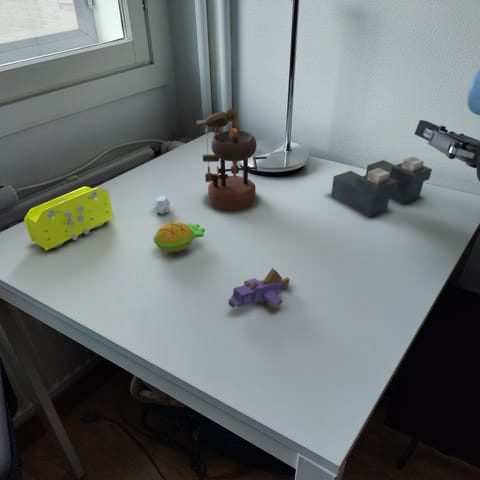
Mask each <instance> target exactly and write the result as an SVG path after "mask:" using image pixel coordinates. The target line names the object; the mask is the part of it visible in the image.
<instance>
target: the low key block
mask: <svg viewBox="0 0 480 480" xmlns="http://www.w3.org/2000/svg"><path fill="white" fill-rule="evenodd" d="M402 164H403V162H401V163H398V164H394V163H392V162H389V161H387V160H384V159H382V160H379V161H376V162H373V163H370V164H367V166H366V171H365V175H368V171H371V170H374V169H377V168H380V169H382V170H385V171H387V172H389V173H390V174H389V177H391V178H393V179H395V180H397V181H398V185H397V189H396V192H393V193H391V194H390V198H389V199H392V200H394V201H396V202H398V203H400V204H402V205H405V204H408V203H411V202H413V201H416V200H418V199H420V197H421V193H422V189H423V187H424V182H426V181H428V180H430V178H431V174H432V171H433V169H432V168H430V167H428V166H425V165H423V167H422V170H419V171H416V172H413V173H412V172H410V171H408V170H406V169H403V168H402Z"/></svg>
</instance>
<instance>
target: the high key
mask: <svg viewBox="0 0 480 480" xmlns="http://www.w3.org/2000/svg"><path fill="white" fill-rule="evenodd" d="M389 174H390V173H389V172H387V171H385V170H382V169H380V168H377V169H374V170H371V171H368V177H367V180H369V181H371V182H373V183H375V184H377V185H379V184H382V183H385V182H387V181H388V178H389Z"/></svg>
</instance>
